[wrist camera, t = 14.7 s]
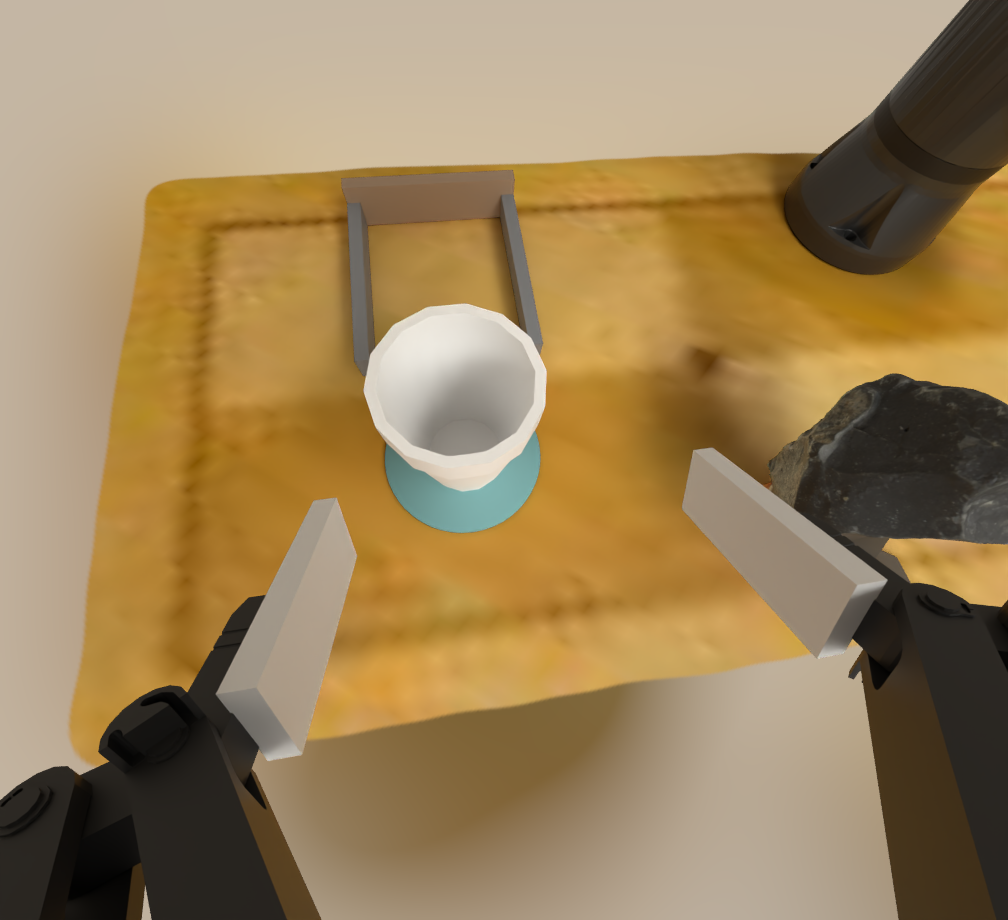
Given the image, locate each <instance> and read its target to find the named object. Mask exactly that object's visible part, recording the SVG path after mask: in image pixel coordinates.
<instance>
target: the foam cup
mask: <svg viewBox="0 0 1008 920" xmlns="http://www.w3.org/2000/svg"><path fill="white" fill-rule="evenodd" d="M546 371H547V370H546V368H545V366H544V364H543V362H542V360H541V358H540V355H539V353H538V351H537V349H536V347H535V345H534V343H533V341H532V339H531V337H530V336H528V335H527V334H526V333H525V332H524V331H522V330H521V329H520V328H519V327H517V326H516V325H515V324H514V323H513V322H511V321H510V320H509V319H508V318H506V317H505V316H504V315H503V314H500V313H497V312H493V311H490V310H486V309H483V308H480V307H476V306H473V305H470V304H466V303H465V304H454V305H444V306H433V307H427V308H425V309H423V310H421V311H419V312H417V313H415V314H413V315H411V316H409V317H407V318H405V319H403V320H402V321H400V322H398V323H396V324H394V325H393V326H392V327H391V329H390V330H389V331H388V332H387V334H386V335H385V336H384V337H383V339H382V340H381V341H380V343H379V344H378V345H377V346H376V348H375V349H374V350H373V351H372V353H371V354H370V359H369V364H368V369H367V375H366V380H365V385H364V390H363V391H364V394H365V397H366V400H367V403H368V406H369V409H370V412H371V415H372V418H373V421H374V424H375V427H376V429H377V430H378V432H379V433H380V434H381V436H382V437H383V439H384V440H385V441H386V443H387V444H388V445H389V446H390V447H391V448H392V449H394V450H395V451H396V452H397V453H398V454H399V455H400V456H401V457H402V458H403V459H404V460H405V461H406V462H407V463H408V464H409V465H410V466H412V467H413V468H414V469H417V470H420V471H424V472H426V473H427V474H428V475H430V476H431V477H433V478H434V479H435V480H437V481H438V482H440V483H441V484H442V485H444V486H446V487H449V488H452V489H455V490H459V491H462V492H463V491H470V490H477V489H480V488H482V487H483V486H485V485H486V484H488V483H489V482H491V481H493V480H494V479H495V478H496V477H497V476H498V474H499V473H500V472H501V471H502V470H503V469H504V467H505V466H506V465H507V464H508V463H509V462H510V461H511V460H512V459H514V458H515V457H517V456H518V455H520V454H521V453H522V451H523V449H524V448H525V446H526V444H527V442H528V441H529V439H530V437H531V436H532V434H533V432H534V430H535V429H536V427H537V425H538V424H539V421H540V418H541V416H542V413H543V411H544V408H545V396H546Z"/></svg>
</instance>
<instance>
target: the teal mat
mask: <svg viewBox="0 0 1008 920" xmlns="http://www.w3.org/2000/svg"><path fill="white" fill-rule="evenodd" d="M385 467H386V474H387V478H388V481H389V484H390V486H391V489H392V491H393V493H394V495H395V496H396V498H397V499H398V501H399V502H400V503H401V505H402V506H403V507H404V508H405V509H406V510H407V511H408V512H409V513H410V514H411V515H412V516H414V517H415V518H417V519H418V520H420V521H421V522H423V523H425V524H427V525H429V526H431V527H433V528H436V529H439V530H443V531H448V532H455V533H468V532H476V531H481V530H485V529H488V528H491V527H493V526H495V525H497V524H499V523H501V522H503V521H505V520H506V519H508V518H509V517H511V516H512V515H513V514H514V513H515V512H516V511H517V510H518V509H519V508H520V507H521V506H522V505H523V504H524V503H525V501H526V500H527V498H528V497H529V495H530V494H531V492H532V490H533V488H534V485H535V483H536V480H537V477H538V474H539V467H540V448H539V442H538V438H537V435H536V432H535V430H534V432H533V434H532V436H531V437H530V439H529V441H528V442H527V444H526V446H525V448H524V449H523V451H522V453H521V454H520V455H518V456H517V457H515V458H514V459H512V460H511V461H510V462H509V463H508V464H507V465H506V466H505V467H504V469H503V470H502V471H501V472H500V473H499V474H498V476H497V477H496V478H495V479H494V480H493V481H491V482H489V483H488V484H486V485H485V486H483V487H482V488H480V489H477V490H470V491H463V492H462V491H459V490H455V489H452V488H449V487H446V486H444V485H442V484H441V483H440V482H438V481H437V480H435V479H434V478H433V477H431V476H430V475H428V474H427V473H426V472H424V471H420V470H417V469H414V468H413V467H412V466H410V465H409V464H408V463H407V462H406V461H405V460H404V459H403V458H402V457H401V456H400V455H399V454H398V453H397V452H396V451H395V450H394V449H392V448H391V447H390V446H389V445H388V444H386V451H385Z"/></svg>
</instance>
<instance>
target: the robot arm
mask: <svg viewBox="0 0 1008 920" xmlns="http://www.w3.org/2000/svg"><path fill="white" fill-rule="evenodd" d="M1006 164H1008V0H969V1H968V2H967V3H966V5H965V6H964V7H963V8H962V9H961V10H960V12H959V13H958V14H957V15H956V16H955V17H954V18H953V20H952V21H951V22H950V23H949V24H948V25H947V27H946V28H945V29H944V30H943V31H942V32H941V33H940V35H939V36H938V37H937V38H936V39H935V40H934V42H933V43H932V44H931V45H930V46H929V47H928V49H927V50H926V51H925V52H924V53H923V54H922V55H921V57H920V58H919V59H918V60H917V61H916V62H915V64H914V65H913V66H912V67H911V68H910V69H909V71H908V72H907V73H906V74H905V75H904V77H903V78H902V79H901V80H900V81H899V82H898V83H897V84H896V86H895V87H894V88H893V90H891V92H890V93H889V94H888V95H887V96H886V97H885V99H884V100H883V101H882V102H881V103H880V105H879V106H878V107H877V108H876V109H875V110H874V111H873V112H872V113H871V114H870V115H869V116H868V117H867V118H866V119H864V120H863V121H862V122H860V123H859V124H858V125H856V126H855V127H854V128H853V129H851V130H850V131H849V132H848V133H846V134H845V135H844V136H842V137H841V138H840V139H838V140H837V141H836V142H835V143H833V144H832V145H831V146H830V147H828V149H826V150H825V151H823V152H822V153H821V154H819V155H818V156H817V157H815V158H814V159H813V160H812V161H811V162H809V163H808V164H807V165H806V167H805V168H804V169H803V170H802V171H801V173H800V174H799V175H798V176H797V178H796V179H795V180H794V181H793V183H792V184H791V185H790V187H789V188H788V190H787V193H786V196H785V213H786V217H787V220H788V222H789V225H790V227H791V228H792V230H793V232H794V233H795V235H796V236H797V237H798V239H799V240H800V241H801V242H802V243H803V244H804V245H805V246H806V247H807V248H808V249H809V250H810V251H811V252H813V253H814V254H815V255H816V256H818V257H819V258H821V259H822V260H824V261H826V262H828V263H830V264H832V265H834V266H836V267H838V268H841V269H844V270H847V271H850V272H854V273H860V274H884V273H888V272H892V271H894V270H897V269H899V268H900V267H902V266H903V265H905V264H906V263H907V262H909V261H910V260H912V259H913V258H914V257H916V256H917V255H918V254H920V253H921V252H922V251H924V250H925V249H926V248H927V247H928V246H929V245H930V244H931V243H932V241H933V240H934V239H935V237H936V236H937V235H938V234H939V233H940V231H941V230H942V229H943V228H944V227H945V226H946V225H947V223H948V222H949V221H950V220H951V219H952V218H953V216H954V215H955V214H956V213H957V212H958V211H959V209H960V208H961V207H962V206H963V204H964V203H965V202H966V201H967V200H968V198H969V197H970V196H971V195H972V194H973V192H974V191H975V190H976V189H977V188H978V187H979V186H980V185H981V184H982V183H983V182H985V181H986V180H987V179H988V178H990V177H991V176H992V175H994V174H995V173H996V172H997V171H999V170H1000V169H1001V168H1002V167H1004V166H1005V165H1006ZM682 510H683V511H684V512H685V513H686V514H687V515H688V516H689V517H690V519H691V520H692V521H693V522H694V523H695V524H696V525H697V526H698V527H699V529H700V530H701V531H702V532H703V533H704V534H705V535H706V536H707V537H708V539H709V540H710V541H711V542H712V543H713V544H714V545H715V546H716V547H717V549H718V550H719V551H720V552H721V553H722V554H723V555H724V556H725V557H726V559H727V560H728V561H729V562H730V563H731V564H732V565H733V566H734V567H735V569H736V570H737V571H738V572H739V573H740V574H741V575H742V576H743V577H744V579H745V580H746V581H747V582H748V583H749V584H750V585H751V586H752V587H753V589H754V590H755V591H756V592H757V593H758V594H759V595H760V596H761V597H762V599H763V600H764V601H765V602H766V603H767V604H768V605H769V606H770V607H771V609H772V610H773V611H774V612H775V613H776V614H777V615H778V616H779V617H780V619H781V620H782V621H783V622H784V623H785V624H786V625H787V626H788V627H789V629H790V630H791V631H792V632H793V633H794V634H795V635H796V636H797V637H798V639H799V640H800V641H801V642H802V643H803V644H804V645H805V646H806V647H807V649H808V650H809V651H810V652H811V653H812V654H813V655H814V656H815V657H816V658H817V659H818V658H824V657H828V656H834V655H840V654H844V652H845V650H846V649H847V647H848V645H849V644H850V642H851V640H852V639H854V640H855V641H856V642H857V643H858V644H859V645H860V646H861V647H862V648H863V651H862V652H861V654H860V655H859V657H858V658H857V660H856V661H855V663H854V665H853V666H852V668H851V670H850V671H849V676H848V677H849V678H852V679H854V678H855V677H856V675H857V674H858V672H859V671H861V673H862V683H863V686H864V693H865V700H866V706H867V713H868V719H869V726H870V733H871V739H872V746H873V753H874V759H875V766H876V772H877V779H878V786H879V792H880V799H881V806H882V812H883V818H884V824H885V832H886V839H887V844H888V851H889V858H890V865H891V872H892V878H893V885H894V892H895V898H896V904H897V911H898V918H899V920H1008V600H1007V602H1006V603H1005V604H1004V605H1003V606H1002V607H996V606H986V605H977V604H969V603H968V602H967V601H965V600H964V599H963V598H961V597H959V596H957V595H955V594H953V593H951V592H949V591H947V590H945V589H942V588H939V587H936V586H933V585H928V584H923V583H909V582H907V581H906V580H904V579H903V578H902V577H900V576H899V575H898V574H896V573H895V572H893V571H892V570H891V569H889V568H888V567H887V566H885V565H884V564H883V563H881V562H880V561H878V560H877V559H876V558H874V557H873V556H872V555H870V554H869V553H867V552H866V551H865V550H863V549H862V548H861V547H859V546H855V544H854V542H852V541H851V540H850V539H848V538H847V537H845V536H842V535H841V533H840V532H839V531H837V530H836V529H834V528H833V527H832V526H830V525H829V524H828V523H826V522H825V521H822V520H820V519H818V518H816V517H814V516H812V515H809V514H807V513H805V512H804V513H798V512H797V511H796V510H795V509H793V508H792V507H791V506H789V505H788V504H787V503H785V502H784V501H783V500H781V499H780V498H779V497H777V496H776V495H775V494H773V493H772V492H771V491H769V490H768V489H767V488H765V487H764V486H763V485H761V484H760V483H759V482H757V481H756V480H755V479H754V478H752V477H751V476H750V475H748V474H747V473H746V472H744V471H743V470H742V469H740V468H739V467H738V466H736V465H735V464H734V463H732V462H731V461H730V460H728V459H727V458H726V457H724V456H723V455H722V454H720V453H719V452H718V451H716V450H715V449H714V448H705V449H698V450H693V455H692V460H691V465H690V470H689V475H688V480H687V485H686V490H685V495H684V500H683V505H682ZM356 558H357V555H356V552H355V549H354V546H353V543H352V540H351V538H350V535H349V532H348V529H347V526H346V523H345V521H344V518H343V515H342V512H341V509H340V506H339V503H338V501H337V498H330V499H322V500H315V501H313V503H312V505H311V507H310V509H309V511H308V513H307V515H306V517H305V519H304V521H303V523H302V525H301V527H300V529H299V531H298V533H297V535H296V537H295V539H294V541H293V543H292V545H291V547H290V549H289V551H288V553H287V555H286V557H285V559H284V561H283V562H282V564H281V566H280V568H279V570H278V572H277V574H276V576H275V578H274V580H273V582H272V584H271V586H270V588H269V590H268V592H267V594H266V595H263V596H256V597H250V598H248V599H247V600H246V601H245V602H244V603H243V604H242V605H241V606H240V607H239V608H238V609H237V610H236V611H235V612H234V613H233V614H232V615H231V617H230V619H229V621H228V622H227V624H226V626H225V628H224V629H223V631H222V635H221V636H219V638H218V640H217V642H216V643H215V645H214V650H213V651H211V652H210V654H209V656H208V657H207V659H206V661H205V663H204V664H203V666H202V668H201V670H200V671H199V673H198V675H197V677H196V678H195V680H194V682H193V684H192V685H191V687H190V689H189V691H188V692H186V691H185V690H184V689H183V688H182V687H180V686H171V685H169V686H166V687H162V688H158V689H155V690H153V691H151V692H149V693H147V694H145V695H143V696H141V697H139V698H138V699H137V700H135V701H134V702H133V703H131V704H130V705H129V706H127V707H126V708H125V709H123V710H122V711H121V712H120V714H119V715H118V716H117V717H116V718H115V719H114V720H113V721H112V722H111V723H110V724H109V726H108V728H107V729H106V731H105V733H104V734H103V736H102V738H101V740H100V745H99V751H98V752H99V753H100V754H101V755H102V756H104V757H105V758H106V759H107V760H108V761H110V762H108V763H106V764H103V765H101V766H99V767H97V768H95V769H92V770H90V771H88V772H86V773H84V774H82V775H78V774H77V773H76V772H74V771H73V770H72V769H70V768H69V767H68V766H61V767H53V768H50V769H48V770H45V771H42V772H40V773H37V774H36V775H34V776H32V777H31V778H29V779H28V780H26V781H24V782H23V783H21V784H20V785H18V786H16V787H15V788H14V789H13V790H12V791H11V792H9V793H8V794H7V795H6V796H5V797H3V799H1V800H0V920H141V919H142V909H143V900H144V891H145V886H146V891H147V896H148V902H149V907H150V913H151V918H152V920H321V917H320V916H319V913H318V911H317V909H316V906H315V904H314V902H313V900H312V897H311V895H310V893H309V891H308V889H307V886H306V884H305V882H304V880H303V877H302V875H301V873H300V871H299V869H298V867H297V864H296V862H295V860H294V857H293V855H292V853H291V851H290V849H289V847H288V844H287V842H286V840H285V837H284V835H283V833H282V831H281V829H280V826H279V824H278V822H277V820H276V818H275V815H274V813H273V811H272V809H271V806H270V804H269V802H268V800H267V797H266V795H265V793H264V791H263V789H262V787H261V784H260V782H259V780H258V778H257V775H256V773H255V772H254V771H253V770H252V766H253V763H254V760H255V758H256V755H257V752H258V750H260V751H261V753H262V754H263V755H264V756H265V758H266V759H267V760H268V761H270V760H275V759H281V758H287V757H292V756H297V755H302V753H303V749H304V745H305V742H306V739H307V735H308V731H309V728H310V724H311V721H312V717H313V713H314V710H315V706H316V703H317V699H318V695H319V692H320V688H321V684H322V681H323V677H324V674H325V670H326V666H327V663H328V659H329V656H330V652H331V648H332V645H333V641H334V638H335V634H336V630H337V627H338V623H339V620H340V616H341V612H342V609H343V605H344V601H345V598H346V594H347V591H348V587H349V583H350V580H351V576H352V573H353V569H354V565H355V562H356Z"/></svg>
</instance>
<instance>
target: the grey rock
mask: <svg viewBox="0 0 1008 920" xmlns="http://www.w3.org/2000/svg"><path fill="white" fill-rule="evenodd" d="M767 466H768V467H769V470H770V474H769V475H770V477H771V481H772V482H771V483H767V484H764V485H763V486H764V487H765V488H767V489H768V490H769V491H771V492H772V493H773V494H775V495H776V496H777V497H779V498H780V499H781V500H783V501H784V502H785V503H787V504H788V505H789V506H791V507H792V508H793V509H795V510H796V511H797V512H798V513H804V512H805V513H807V514H809V515H812V516H814V517H816V518H818V519H820V520H822V521H825V522H826V523H828V524H829V525H830V526H832V527H833V528H834V529H836V530H837V531H839V532H840V533H841V535H842V536H845V537H847V538H848V539H850V540H851V541H852V542H854V544H855V546H859V547H861V548H862V549H863V550H865V551H866V552H867V553H869V554H870V555H872V556H873V557H874V558H876V559H877V560H878V561H880V562H881V563H883V564H884V565H885V566H887V567H888V568H889V569H891V570H892V571H893V572H895V573H896V574H898V575H899V576H900V577H902V578H903V579H904V580H906V581H907V582H909V583H910V581H909V579H908V577H907V575H906V574H905V572H904V570H903V568H902V566H901V564H900V562H899V561H898V559H897V557H895V556H893V555H890V554H888V553H886V552H884V551H882V548H883V547H884V545H885V544H886V543H887V541H888V540H889V538H892V539H908V538H919V539H921V538H933V539H944V540H955V541H966V542H973V543H980V544H981V543H983V544H987V543H989V544H1008V405H1007V404H1005V403H1004V402H1002V401H1000V400H998V399H996V398H994V397H992V396H990V395H988V394H986V393H982V392H979V391H977V390H974V389H967V388H964V387H962V388H961V387H951V386H941V385H938V384H935V383H932V382H929V381H915V380H913V379H911V378H909V377H907V376H904V375H901V374H889V375H886V376H884V377H883V378H881V379H879V380H876V381H873V382H867V383H864V384H862V385H859V386H857V387H855V388H853V389H852V390H850V391H848V392H846V393H845V394H844V395H843V396H842V397H841V398H840V400H839V401H838V402H837V403H836V405H835V406H834V407H833V408H832V409H831V410H830V411H829V412H828V413H827V414H826V415H825V417H824V418H823V419H821V420H820V421H819V422H818V423H817V424H815V425H814V426H813V427H812V428H811V429H810V430H807V431H805V432H804V433H802V434H801V435H800V436H799V437H798V439H797V440H796V441H793V442H791V443H789V444H787V445H786V446H784V447H783V450H782V451H781V452H779V454H778V455H777V456H776V457H775V458H773V459H772V460H770V461H769V463H768V464H767Z"/></svg>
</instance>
